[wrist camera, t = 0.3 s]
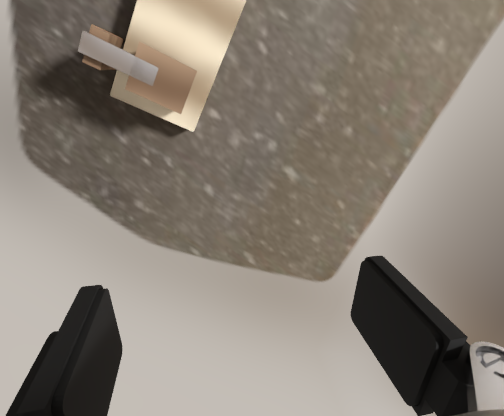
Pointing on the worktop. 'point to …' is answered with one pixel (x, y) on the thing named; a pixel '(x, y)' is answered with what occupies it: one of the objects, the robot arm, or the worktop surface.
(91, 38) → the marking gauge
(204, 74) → the birch board
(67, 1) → the worktop surface
